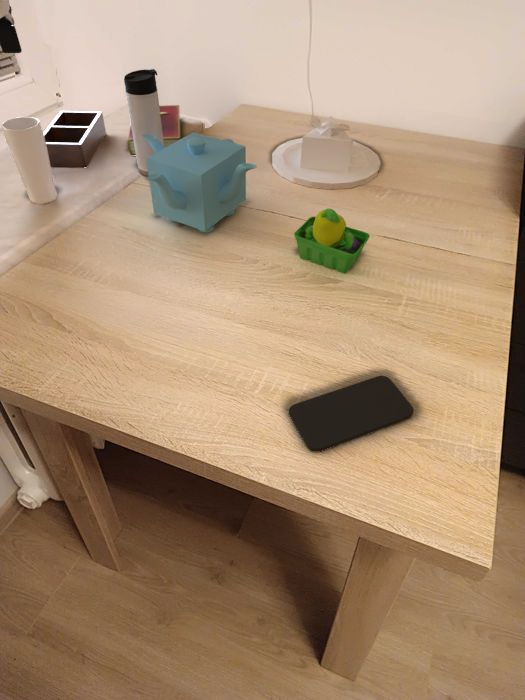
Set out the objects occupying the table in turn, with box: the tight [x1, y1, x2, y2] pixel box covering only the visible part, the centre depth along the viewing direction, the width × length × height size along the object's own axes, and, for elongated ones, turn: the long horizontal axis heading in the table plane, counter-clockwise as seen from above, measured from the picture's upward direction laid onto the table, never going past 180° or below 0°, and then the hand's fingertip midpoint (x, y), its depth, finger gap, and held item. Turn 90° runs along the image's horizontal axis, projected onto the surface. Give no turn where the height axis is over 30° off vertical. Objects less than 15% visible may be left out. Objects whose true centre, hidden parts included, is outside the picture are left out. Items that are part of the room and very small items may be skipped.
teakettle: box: [142, 131, 258, 233], centre depth 93 cm, size 19×19×15 cm
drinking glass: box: [0, 116, 58, 205], centre depth 96 cm, size 7×7×15 cm
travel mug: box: [123, 68, 164, 177], centre depth 105 cm, size 6×7×20 cm
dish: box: [271, 115, 382, 190], centre depth 112 cm, size 25×25×11 cm
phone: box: [288, 375, 415, 452], centre depth 64 cm, size 7×1×15 cm
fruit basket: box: [293, 208, 370, 275], centre depth 84 cm, size 11×9×11 cm
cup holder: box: [43, 110, 107, 169], centre depth 117 cm, size 10×19×5 cm, turn 0°
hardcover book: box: [127, 104, 182, 156], centre depth 123 cm, size 12×21×4 cm, turn 7°
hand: (2, 60), depth 84 cm, fingers open, 9 cm apart
